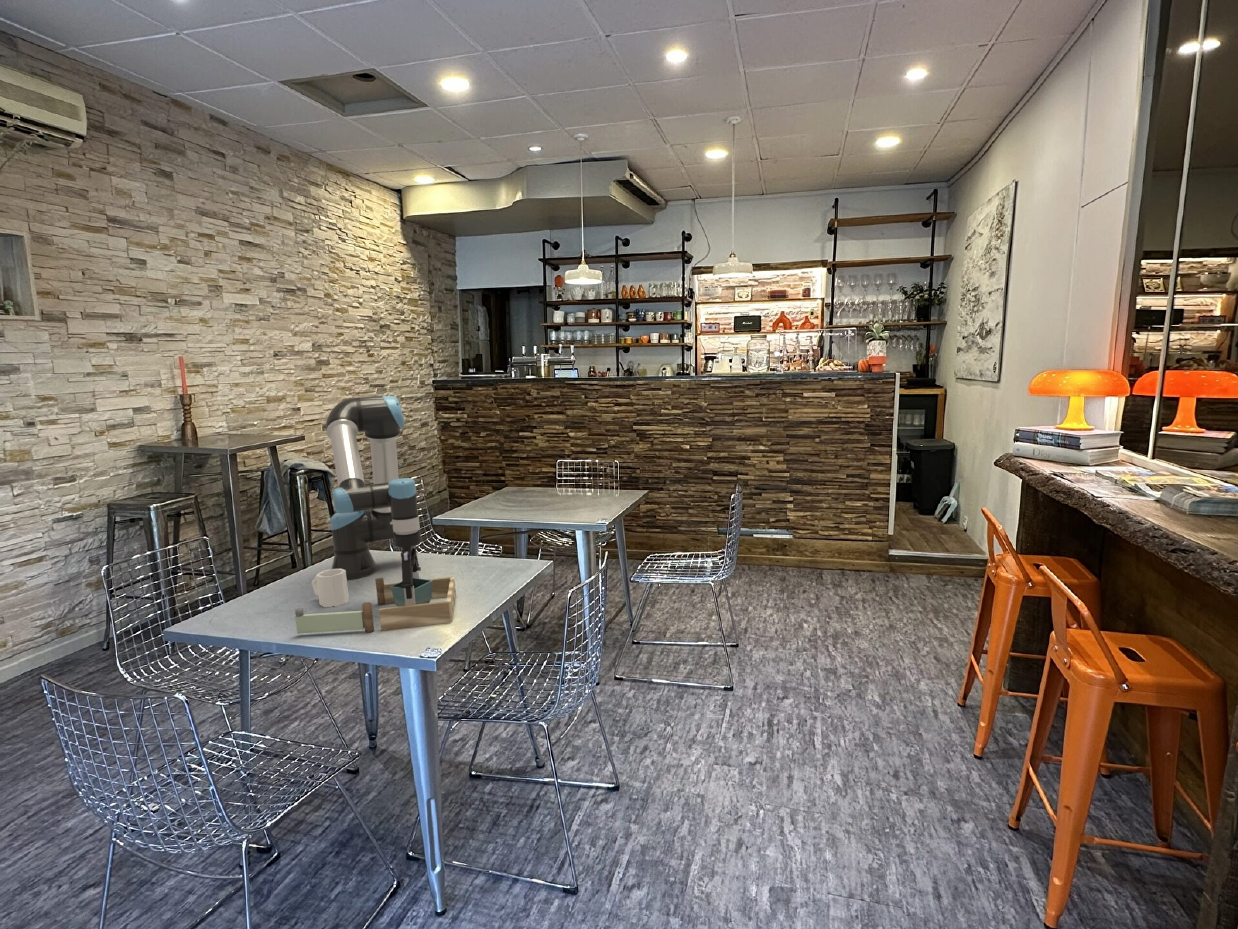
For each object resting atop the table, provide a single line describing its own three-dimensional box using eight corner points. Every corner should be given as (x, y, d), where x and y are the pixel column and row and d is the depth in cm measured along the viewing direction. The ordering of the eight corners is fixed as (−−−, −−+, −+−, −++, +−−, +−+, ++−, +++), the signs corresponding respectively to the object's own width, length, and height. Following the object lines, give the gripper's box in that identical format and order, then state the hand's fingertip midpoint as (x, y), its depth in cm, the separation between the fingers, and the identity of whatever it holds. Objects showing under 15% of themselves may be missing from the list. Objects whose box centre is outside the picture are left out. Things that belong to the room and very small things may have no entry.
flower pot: (436, 608, 197) (433, 579, 195) (416, 618, 189) (413, 589, 187) (413, 604, 200) (410, 577, 199) (392, 615, 192) (389, 586, 191)
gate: (365, 627, 182) (362, 604, 181) (362, 629, 180) (360, 606, 179) (299, 631, 181) (296, 608, 180) (296, 634, 179) (293, 610, 178)
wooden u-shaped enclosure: (378, 602, 204) (375, 578, 202) (456, 594, 208) (454, 570, 207) (364, 633, 180) (361, 606, 179) (452, 622, 184) (449, 596, 183)
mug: (354, 598, 208) (350, 569, 207) (334, 608, 200) (330, 578, 199) (325, 595, 212) (321, 567, 211) (304, 605, 204) (300, 575, 203)
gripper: (398, 522, 202) (405, 587, 205) (386, 543, 177) (394, 617, 181) (423, 520, 203) (430, 585, 206) (415, 541, 179) (422, 614, 182)
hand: (413, 600), depth 193 cm, fingers open, 13 cm apart
